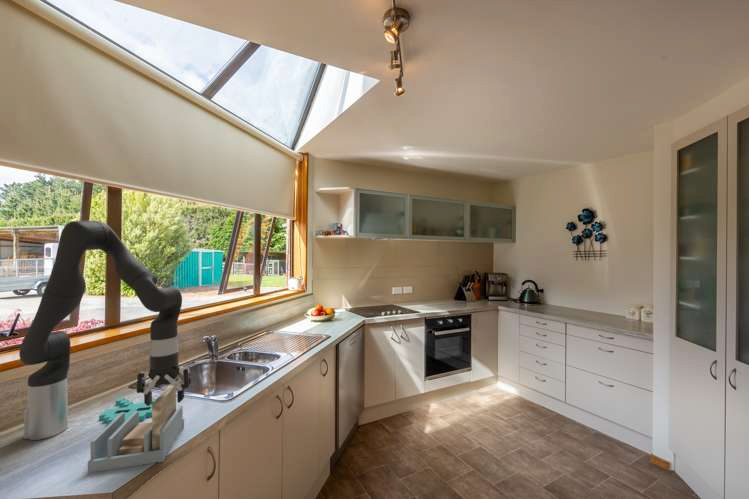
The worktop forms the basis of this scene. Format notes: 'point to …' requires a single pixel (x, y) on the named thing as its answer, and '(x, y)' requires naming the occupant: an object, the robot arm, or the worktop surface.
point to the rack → (119, 429)
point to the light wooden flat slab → (162, 413)
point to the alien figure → (127, 410)
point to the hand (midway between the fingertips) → (164, 403)
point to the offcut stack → (134, 440)
